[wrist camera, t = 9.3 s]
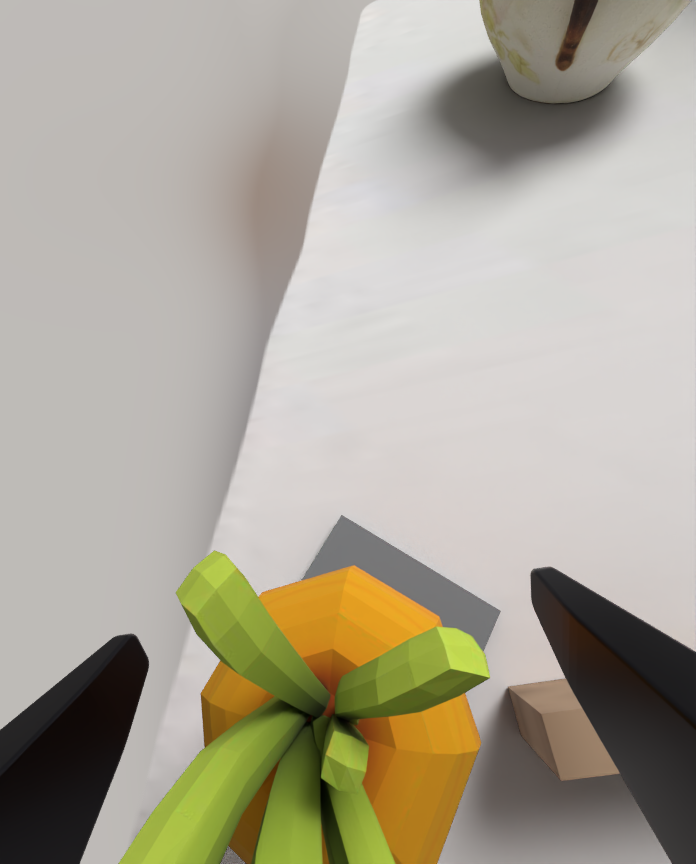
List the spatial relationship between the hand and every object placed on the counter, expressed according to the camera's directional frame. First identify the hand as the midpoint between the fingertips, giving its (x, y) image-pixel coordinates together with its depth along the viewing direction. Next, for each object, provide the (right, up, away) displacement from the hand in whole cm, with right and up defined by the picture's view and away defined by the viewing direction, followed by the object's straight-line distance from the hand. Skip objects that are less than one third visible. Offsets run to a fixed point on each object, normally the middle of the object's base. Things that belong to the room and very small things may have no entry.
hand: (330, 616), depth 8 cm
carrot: (+2, -5, +8) cm, 9 cm away
